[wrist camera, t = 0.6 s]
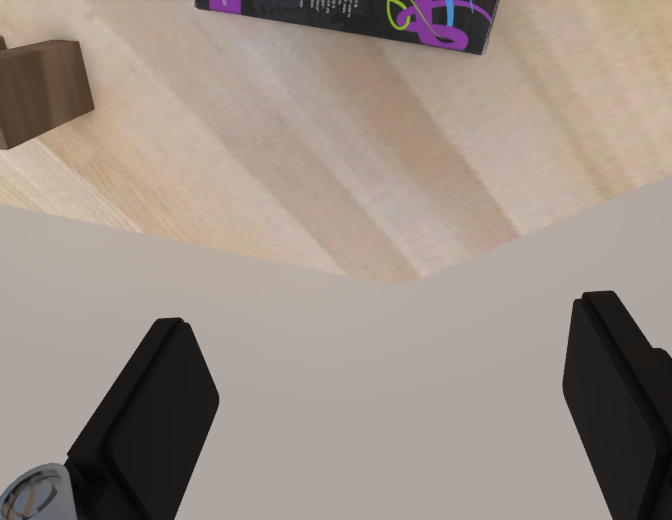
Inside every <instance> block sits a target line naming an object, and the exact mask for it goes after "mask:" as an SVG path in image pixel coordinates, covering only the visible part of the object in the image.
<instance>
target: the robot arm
mask: <svg viewBox="0 0 672 520" xmlns="http://www.w3.org/2000/svg"><path fill="white" fill-rule="evenodd" d="M563 393H564V397H565V400H566V403H567V405H568V407H569V410H570V412H571V415H572V418H573V420H574V423H575V425H576V427H577V430H578V433H579V435H580V438H581V440H582V443H583V445H584V448H585V451H586V453H587V456H588V458H589V460H590V463H591V466H592V468H593V471H594V473H595V476H596V478H597V481H598V483H599V486H600V488H601V491H602V493H603V496H604V498H605V501H606V503H607V506H608V509H609V511H610V514H611V516H612V519H613V520H672V358H671V357H670V355H669V354H668V353H667V352H666V351H665V350H663V349H661V348H652V346H651V345H650V343H649V342H648V341H647V339H646V337H645V336H644V334H643V333H642V332H641V330H640V329H639V327H638V326H637V324H636V323H635V321H634V320H633V318H632V317H631V315H630V314H629V312H628V311H627V309H626V308H625V306H624V305H623V303H622V302H621V301H620V299H619V297H618V296H617V295H616V293H615V292H614V291H594V292H585V293H583V295H582V298H581V299H576V300H575V301H574V303H573V309H572V316H571V323H570V331H569V338H568V346H567V353H566V361H565V368H564V375H563ZM218 406H219V394H218V391H217V389H216V386H215V384H214V382H213V379H212V377H211V374H210V372H209V370H208V367H207V365H206V362H205V360H204V357H203V355H202V353H201V350H200V348H199V345H198V343H197V341H196V338H195V336H194V333H193V331H192V328H191V326H190V324H188V323H185V322H184V321H183V319H181V318H179V317H178V318H161V319H157V320H156V321H155V322H154V324H153V325H152V326H151V328H150V330H149V331H148V332H147V334H146V335H145V337H144V339H143V340H142V342H141V343H140V345H139V346H138V348H137V349H136V351H135V352H134V354H133V355H132V357H131V358H130V360H129V361H128V363H127V364H126V366H125V367H124V369H123V370H122V372H121V373H120V375H119V376H118V378H117V379H116V381H115V382H114V384H113V385H112V387H111V388H110V390H109V391H108V393H107V394H106V396H105V397H104V399H103V400H102V402H101V403H100V405H99V406H98V408H97V409H96V411H95V412H94V414H93V415H92V417H91V418H90V420H89V421H88V423H87V425H86V426H85V427H84V429H83V430H82V432H81V433H80V435H79V436H78V438H77V439H76V441H75V442H74V444H73V445H72V447H71V449H70V450H69V452H68V453H67V455H68V457H69V458H68V459H67V461H66V462H65V464H64V465H61V464H57V463H49V464H44V465H41V466H38V467H36V468H33V469H31V470H29V471H28V472H26V473H24V474H23V475H21V476H20V477H18V478H17V479H16V480H15V481H14V482H13V483H12V484H10V486H8V487H7V489H6V490H5V491H4V492H3V494H2V495H1V496H0V520H174V519H175V516H176V514H177V511H178V508H179V506H180V503H181V501H182V498H183V496H184V493H185V491H186V488H187V486H188V483H189V480H190V478H191V475H192V473H193V470H194V468H195V465H196V462H197V460H198V457H199V455H200V452H201V450H202V447H203V445H204V442H205V440H206V437H207V435H208V432H209V430H210V427H211V425H212V422H213V419H214V416H215V414H216V412H217V409H218Z"/></svg>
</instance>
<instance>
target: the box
mask: <svg viewBox="0 0 672 520" xmlns="http://www.w3.org/2000/svg"><path fill="white" fill-rule="evenodd" d="M498 3H499V0H195V7H196V8H198V9H202V10H210V11H217V12H225V13H231V14H238V15H244V16H250V17H256V18H263V19H269V20H275V21H281V22H287V23H293V24H299V25H307V26H312V27H318V28H325V29H331V30H337V31H342V32H348V33H355V34H361V35H367V36H373V37H378V38H385V39H391V40H397V41H403V42H409V43H415V44H421V45H427V46H433V47H439V48H445V49H450V50H456V51H461V52H466V53H472V54H477V55H483V54H486V48H487V45H488V38H489V35H490V31H491V28H492V24H493V21H494V17H495V14H496V10H497V7H498Z"/></svg>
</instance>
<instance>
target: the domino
mask: <svg viewBox="0 0 672 520" xmlns="http://www.w3.org/2000/svg"><path fill="white" fill-rule="evenodd" d="M92 110H94V105H93V100H92V96H91V92H90V87H89V83H88V79H87V75H86V70H85V66H84V62H83V57H82V53H81V49H80V45H79V41H65V40H50V41H45V42H40V43H36V44H31V45H26V46H22V47H17V48H12V49H8V50H3V51H0V149H2V150H9V149H11V148H13V147H16V146H18V145H20V144H22V143H24V142H26V141H28V140H30V139H32V138H35V137H37V136H39V135H41V134H43V133H45V132H47V131H49V130H51V129H54V128H56V127H58V126H60V125H62V124H64V123H66V122H68V121H70V120H73V119H75V118H77V117H79V116H81V115H83V114H85V113H87V112H89V111H92Z"/></svg>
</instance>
